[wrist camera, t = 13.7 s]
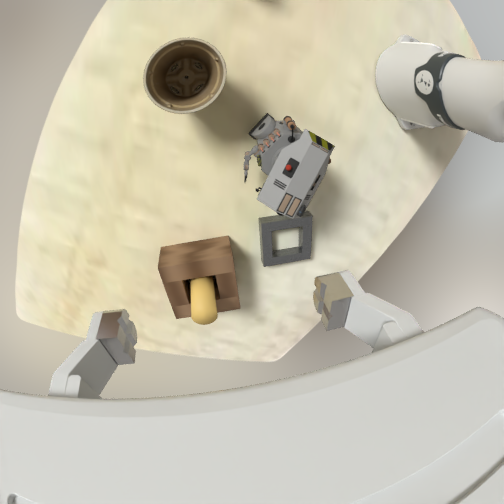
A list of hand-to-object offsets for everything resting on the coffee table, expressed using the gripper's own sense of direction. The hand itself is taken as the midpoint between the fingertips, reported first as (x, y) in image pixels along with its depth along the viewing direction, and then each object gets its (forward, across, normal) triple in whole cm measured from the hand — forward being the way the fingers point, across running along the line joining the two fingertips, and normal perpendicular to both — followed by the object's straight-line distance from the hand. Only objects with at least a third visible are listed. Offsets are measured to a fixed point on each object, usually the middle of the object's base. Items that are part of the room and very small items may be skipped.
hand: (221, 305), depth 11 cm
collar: (+33, -12, +19) cm, 40 cm away
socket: (+33, +4, +23) cm, 40 cm away
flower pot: (+33, +1, -10) cm, 35 cm away
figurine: (+33, -10, +3) cm, 35 cm away
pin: (+33, +4, +23) cm, 40 cm away
